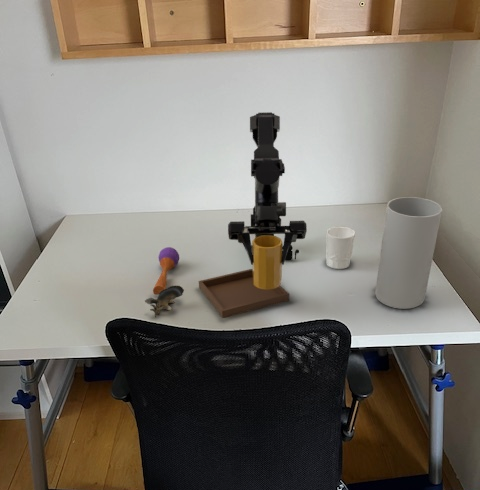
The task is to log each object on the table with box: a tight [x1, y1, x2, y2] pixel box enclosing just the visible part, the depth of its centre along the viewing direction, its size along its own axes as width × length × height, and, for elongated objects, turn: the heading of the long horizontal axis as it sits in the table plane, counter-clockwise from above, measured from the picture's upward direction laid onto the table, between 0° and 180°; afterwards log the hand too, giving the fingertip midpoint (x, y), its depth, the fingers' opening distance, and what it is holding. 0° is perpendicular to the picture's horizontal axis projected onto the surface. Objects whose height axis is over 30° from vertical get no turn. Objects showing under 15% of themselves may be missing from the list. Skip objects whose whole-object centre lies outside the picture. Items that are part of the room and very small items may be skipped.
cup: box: [251, 235, 283, 290], centre depth 130 cm, size 7×7×11 cm
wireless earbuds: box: [282, 244, 300, 262], centre depth 158 cm, size 7×2×5 cm, turn 86°
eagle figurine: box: [144, 285, 185, 318], centre depth 136 cm, size 8×7×9 cm
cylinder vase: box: [374, 196, 443, 310], centre depth 133 cm, size 12×12×25 cm
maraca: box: [152, 246, 180, 295], centre depth 150 cm, size 6×6×20 cm
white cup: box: [325, 226, 356, 270], centre depth 154 cm, size 8×8×10 cm
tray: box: [198, 268, 290, 319], centre depth 141 cm, size 17×19×3 cm
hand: (267, 264), depth 128 cm, fingers closed on cup, 7 cm apart
